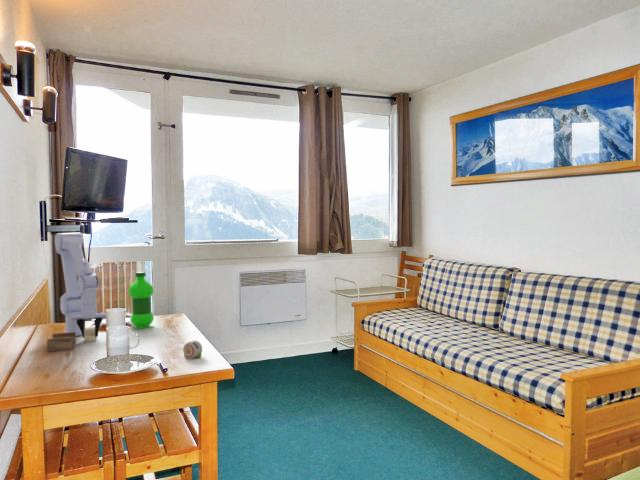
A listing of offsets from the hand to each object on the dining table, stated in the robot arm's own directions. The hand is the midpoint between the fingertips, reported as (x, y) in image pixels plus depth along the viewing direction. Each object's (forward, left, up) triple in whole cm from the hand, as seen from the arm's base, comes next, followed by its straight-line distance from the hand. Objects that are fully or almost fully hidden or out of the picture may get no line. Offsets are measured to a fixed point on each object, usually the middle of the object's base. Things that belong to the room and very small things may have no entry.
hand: (90, 336), depth 202 cm
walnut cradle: (+8, -9, -1) cm, 12 cm away
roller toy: (+41, +39, -2) cm, 57 cm away
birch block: (0, 0, -1) cm, 1 cm away
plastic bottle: (-19, +19, -2) cm, 27 cm away
